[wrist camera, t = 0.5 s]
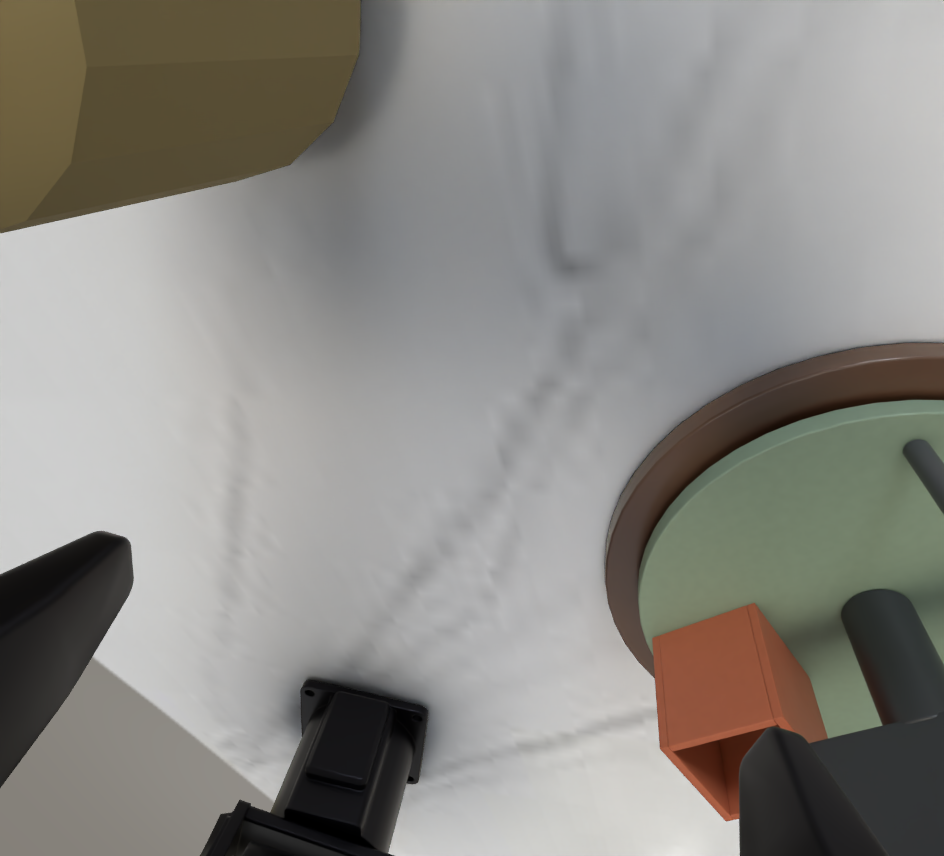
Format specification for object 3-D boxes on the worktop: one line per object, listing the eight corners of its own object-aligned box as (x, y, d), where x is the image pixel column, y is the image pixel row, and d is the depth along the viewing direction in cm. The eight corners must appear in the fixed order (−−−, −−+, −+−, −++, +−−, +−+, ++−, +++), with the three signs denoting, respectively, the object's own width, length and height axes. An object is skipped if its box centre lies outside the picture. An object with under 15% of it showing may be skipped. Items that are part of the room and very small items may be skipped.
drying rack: (756, 768, 29) (821, 1099, 20) (555, 529, 24) (525, 833, 15) (1206, 665, 22) (1603, 1097, 13) (1060, 297, 17) (1550, 606, 8)
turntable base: (738, 761, 31) (741, 782, 30) (513, 497, 25) (510, 514, 24) (1229, 644, 23) (1252, 668, 22) (1070, 218, 17) (1094, 228, 16)
